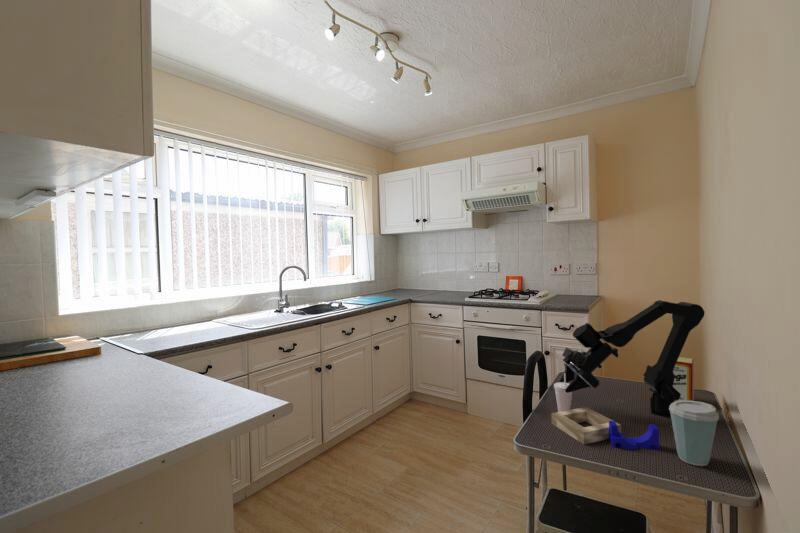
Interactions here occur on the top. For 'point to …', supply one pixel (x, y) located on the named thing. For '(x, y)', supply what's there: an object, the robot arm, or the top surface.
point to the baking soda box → (684, 378)
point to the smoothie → (563, 395)
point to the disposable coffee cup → (694, 430)
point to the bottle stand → (582, 434)
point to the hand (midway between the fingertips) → (562, 388)
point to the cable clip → (644, 441)
